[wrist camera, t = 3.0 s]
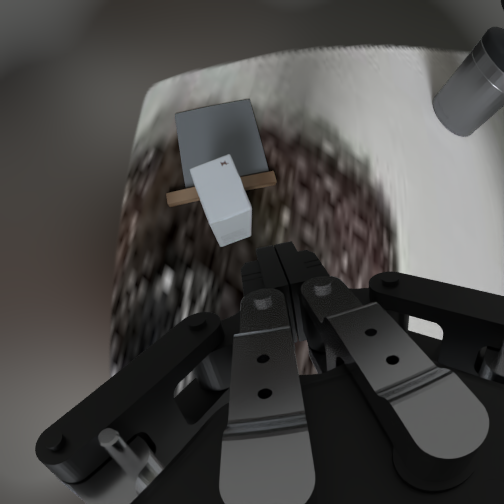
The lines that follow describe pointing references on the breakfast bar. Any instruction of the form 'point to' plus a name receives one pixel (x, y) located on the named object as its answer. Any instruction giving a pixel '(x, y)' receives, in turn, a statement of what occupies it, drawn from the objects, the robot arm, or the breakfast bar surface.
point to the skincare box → (223, 199)
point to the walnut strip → (247, 181)
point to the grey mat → (220, 138)
